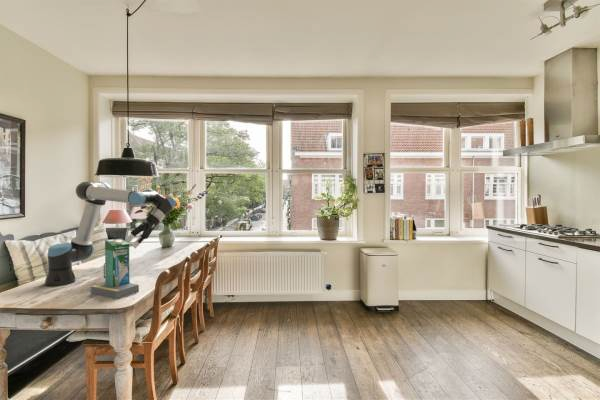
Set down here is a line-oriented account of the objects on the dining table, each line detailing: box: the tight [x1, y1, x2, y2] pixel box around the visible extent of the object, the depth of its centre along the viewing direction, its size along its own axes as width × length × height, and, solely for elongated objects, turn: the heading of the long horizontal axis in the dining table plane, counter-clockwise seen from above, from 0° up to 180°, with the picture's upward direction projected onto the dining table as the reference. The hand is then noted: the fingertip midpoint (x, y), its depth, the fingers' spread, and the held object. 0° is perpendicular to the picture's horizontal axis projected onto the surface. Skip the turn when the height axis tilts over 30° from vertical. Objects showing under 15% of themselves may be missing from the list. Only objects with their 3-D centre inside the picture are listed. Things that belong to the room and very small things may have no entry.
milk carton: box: [104, 238, 130, 287], centre depth 188 cm, size 9×9×25 cm
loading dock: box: [90, 282, 140, 300], centre depth 184 cm, size 20×14×4 cm
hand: (128, 245), depth 188 cm, fingers open, 13 cm apart
